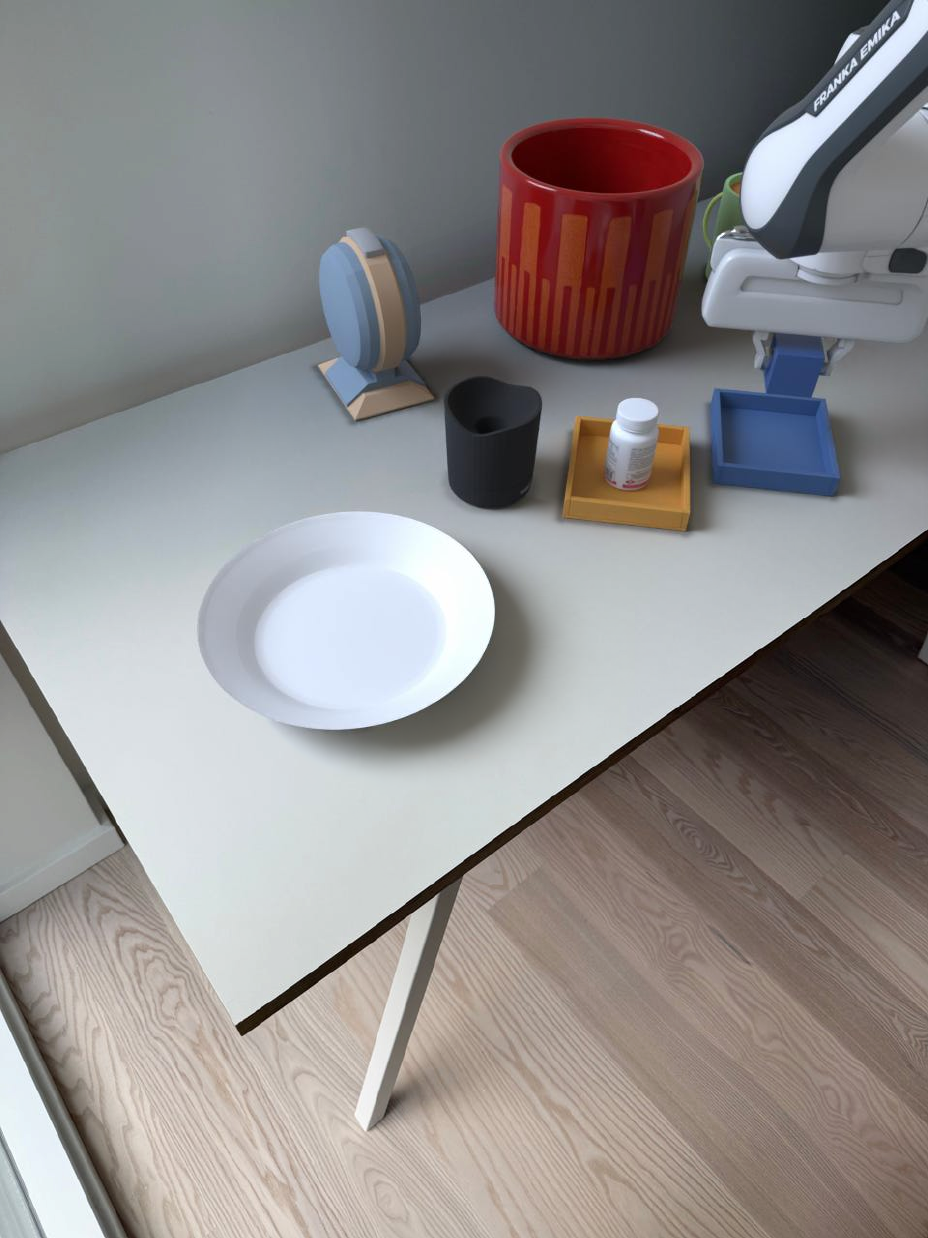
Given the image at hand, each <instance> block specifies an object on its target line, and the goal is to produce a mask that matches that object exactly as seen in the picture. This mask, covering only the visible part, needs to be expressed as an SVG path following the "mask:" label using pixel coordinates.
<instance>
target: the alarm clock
mask: <svg viewBox="0 0 928 1238" xmlns="http://www.w3.org/2000/svg"><path fill="white" fill-rule="evenodd" d="M345 233H346V236H342V237H341V239H340V240H339V241H338V242H336V243H333V244H331V245H330V246H329V248H328V249H327V250H326V251H324V253H323V254H322V256H321V258H320V263H319V268H318V269H319V270H318V285H319V294H320V301H321V305H322V310H323V315H324V318H325V322H326V325H327V328H328V331H329V334H330V336H331V339H332V341H333V343H334V345H335V347H336V349H337V351H338V353H339V354H340V356H339V357H336V358H333V359H331V360H330V359H329V360H327V361H325V362H322V363H319V364H317V367H318V369H319V371H320V372H321V374H322V375H323V376H324V377H325V379H326V380H327V382H328V383H329V385H330V386H331V388H332V389H333V391H334V393H335V394H336V395H337V397H338V398H339V399H340V401H341V403H342V404H343V405H344V407H345V408H346V410H347V411H348V413H349V414H350V416H351V417H352V418H353V420H354V421H355V422H357V421H362V420H366V419H368V418H373V417H376V416H380V415H383V414H387V413H391V412H394V411H398V410H401V409H405V408H409V407H412V406H416V405H420V404H423V403H427V402H431V401H435V399H436V398H435V396H434V395H433V394H432V393H431V391H430V390H429V389H428V388H427V386H426V385H427V384H426V383H425V381H423V379H422V378H421V377H420V375H419V374H418V373H417V372H416V371H415V369H414V368H413V367H412V366H411V364H410V363H409V361H407V359H409V358H411V356H412V355H413V354H414V353H415V352H416V350H417V349H418V347H419V345H420V339H421V335H422V334H421V333H422V314H421V304H420V299H419V292H418V289H417V285H416V281H415V278H414V274H413V272H412V270H411V267H410V265H409V263H408V261H407V259H406V257H405V255H404V253H403V252H402V250H401V249H400V248H399V246H398V245H397V243H395V242H394V241H392V240H391V239H389V238H387V237H385V236H383V235H376V234H375V232H373V231H372V230H371V229H369V228H367V227H364V226H362V227H358V228H352V229H348V230H346V231H345Z"/></svg>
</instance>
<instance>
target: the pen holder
mask: <svg viewBox="0 0 928 1238" xmlns="http://www.w3.org/2000/svg"><path fill="white" fill-rule="evenodd" d="M443 409H444V411H443V412H444V430H445V447H446V464H447V478H448V484H449V487H450V489H451V491H452V493H454V495H455V496H456V497H458V499H460V500H461V501H463V502H465V503H466V504H468V505H472V506H474V507H477V508H484V509H498V508H499V509H501V508H504V507H509V506H512V505H513V504H516V503H517V502H519V501H520V500H522V499H523V498H524V497H526V496H527V494H528V493H529V492H530V489H531V487H532V483H533V478H534V472H535V465H536V457H537V450H538V443H539V442H538V441H539V434H540V425H541V420H542V419H541V418H542V411H543V410H542V409H543V399H542V396H541V394H540V392H539V391H538V390H537V389H536V388H534V387H532V386H529V385H521V384H520V385H519V384H512V383H508V382H505V381H503V380H501V379H498V378H495V377H493V376H489V375H482V374H479V375H471V376H468V377H465V378H463V379H460V380H458V381H457V382H455V383H454V384H452V385H451V386H450V387H449V388H448V389H447V390H446V392H445V394H444V398H443Z"/></svg>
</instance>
